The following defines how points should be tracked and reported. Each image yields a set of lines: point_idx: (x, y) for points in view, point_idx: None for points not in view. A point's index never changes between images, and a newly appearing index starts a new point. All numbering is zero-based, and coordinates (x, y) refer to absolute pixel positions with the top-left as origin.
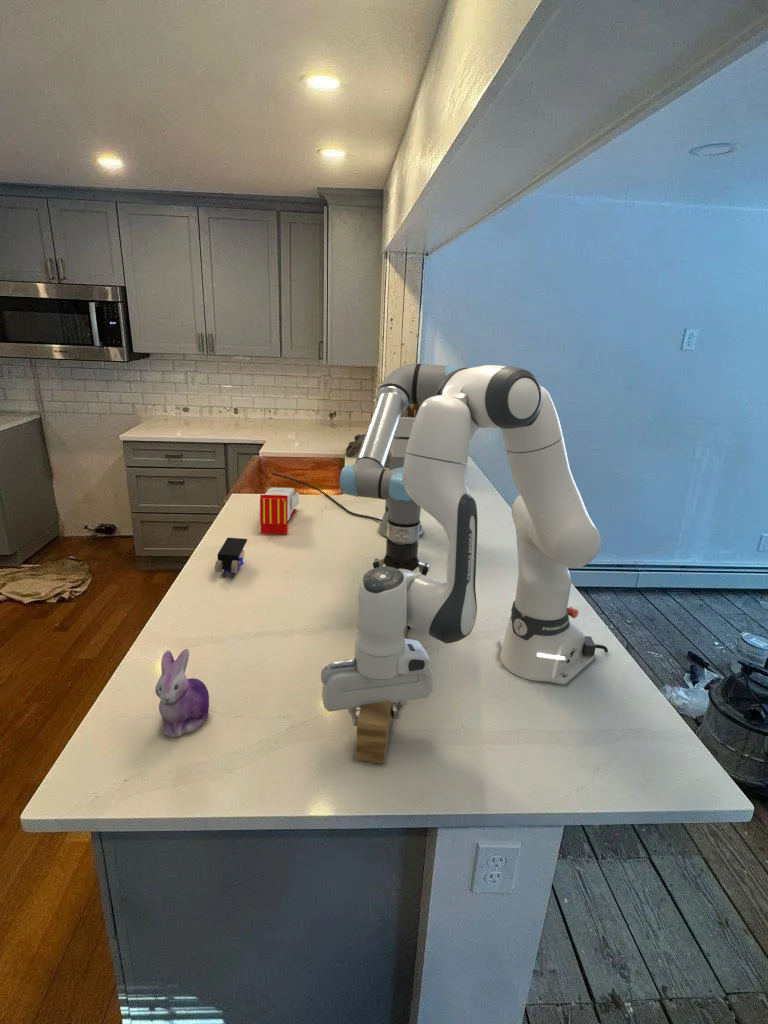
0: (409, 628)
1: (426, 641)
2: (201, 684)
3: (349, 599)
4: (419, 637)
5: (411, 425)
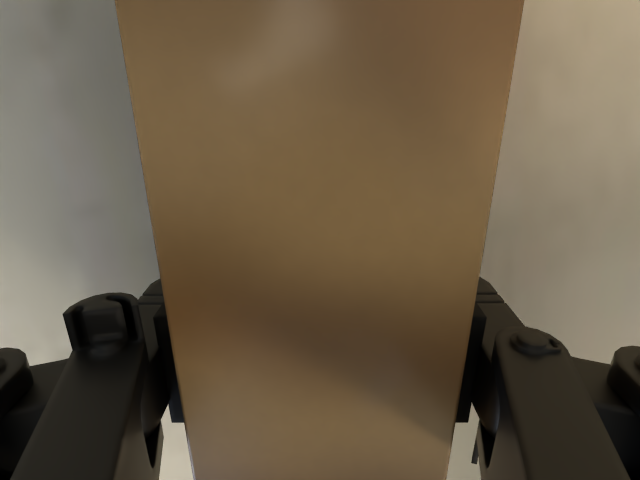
0: None
1: (85, 98)
2: None
3: None
4: None
5: None
